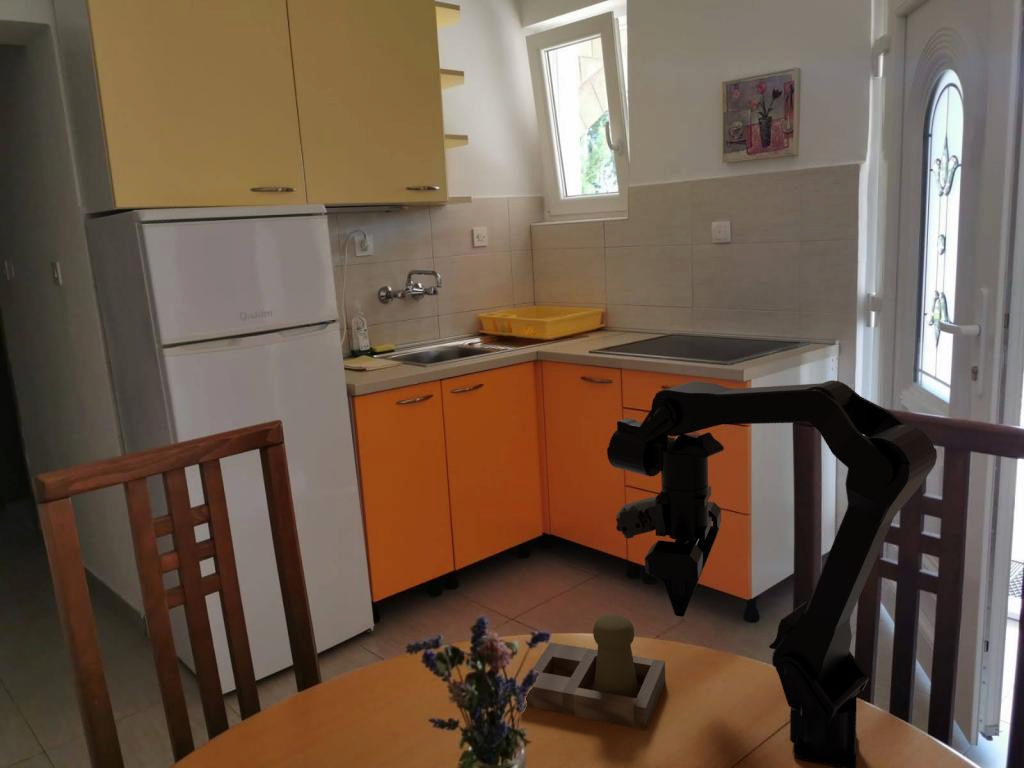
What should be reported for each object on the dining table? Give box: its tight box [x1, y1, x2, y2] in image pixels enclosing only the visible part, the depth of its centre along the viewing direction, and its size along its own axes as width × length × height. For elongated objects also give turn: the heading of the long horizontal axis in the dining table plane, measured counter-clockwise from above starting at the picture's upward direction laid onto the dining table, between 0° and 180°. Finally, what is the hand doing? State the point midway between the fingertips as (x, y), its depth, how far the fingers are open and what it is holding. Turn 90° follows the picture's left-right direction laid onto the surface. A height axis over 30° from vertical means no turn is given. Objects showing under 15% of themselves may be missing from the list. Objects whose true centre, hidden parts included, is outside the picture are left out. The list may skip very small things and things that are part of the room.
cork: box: [592, 613, 640, 698], centre depth 101 cm, size 6×6×11 cm
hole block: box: [526, 641, 666, 731], centre depth 103 cm, size 16×11×3 cm, turn 67°
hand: (686, 598), depth 101 cm, fingers open, 9 cm apart
